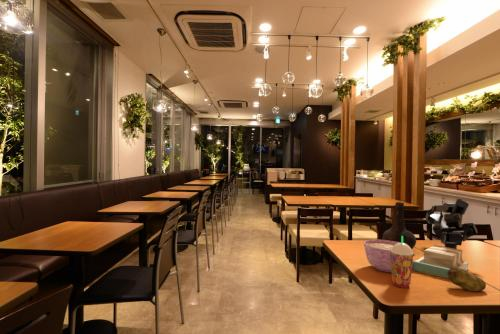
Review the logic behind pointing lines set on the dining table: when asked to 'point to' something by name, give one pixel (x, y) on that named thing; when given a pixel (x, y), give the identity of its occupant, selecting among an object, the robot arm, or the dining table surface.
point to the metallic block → (443, 257)
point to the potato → (465, 279)
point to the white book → (433, 268)
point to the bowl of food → (379, 253)
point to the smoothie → (401, 264)
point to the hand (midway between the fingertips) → (452, 241)
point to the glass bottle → (399, 228)
